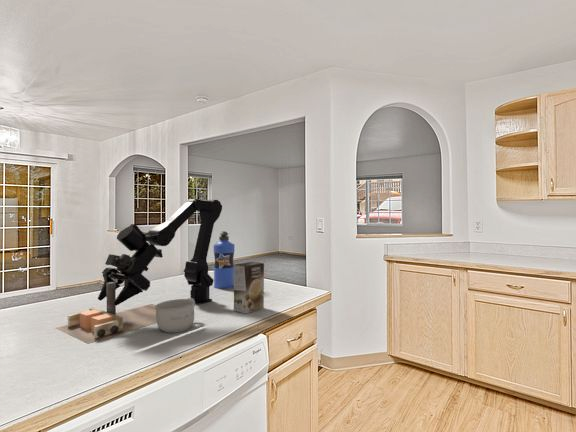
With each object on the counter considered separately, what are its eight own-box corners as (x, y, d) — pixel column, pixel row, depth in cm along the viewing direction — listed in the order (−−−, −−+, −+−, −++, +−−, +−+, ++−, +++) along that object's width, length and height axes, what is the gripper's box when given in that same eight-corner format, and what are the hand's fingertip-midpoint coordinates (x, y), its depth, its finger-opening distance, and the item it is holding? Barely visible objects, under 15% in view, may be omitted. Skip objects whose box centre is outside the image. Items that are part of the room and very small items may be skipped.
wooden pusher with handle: (100, 316, 109) (100, 278, 108) (131, 328, 98) (131, 286, 98) (67, 325, 101) (66, 284, 100) (97, 338, 90) (96, 292, 90)
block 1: (94, 322, 104) (93, 309, 104) (100, 325, 101) (100, 312, 101) (79, 326, 100) (79, 313, 100) (86, 329, 98) (86, 315, 98)
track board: (151, 305, 124) (151, 303, 124) (187, 315, 113) (187, 313, 113) (55, 330, 99) (55, 328, 99) (88, 346, 88) (88, 343, 88)
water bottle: (214, 284, 159) (214, 230, 159) (235, 283, 160) (234, 230, 160) (212, 289, 150) (212, 232, 150) (234, 288, 151) (233, 232, 151)
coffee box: (247, 314, 114) (246, 266, 114) (233, 310, 118) (233, 264, 118) (264, 307, 122) (264, 262, 121) (250, 304, 125) (250, 261, 125)
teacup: (172, 339, 92) (172, 310, 92) (147, 332, 98) (146, 304, 97) (210, 324, 104) (209, 298, 104) (185, 318, 109) (185, 294, 109)
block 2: (105, 327, 100) (105, 313, 100) (112, 330, 97) (112, 316, 97) (91, 331, 96) (91, 317, 96) (98, 334, 94) (98, 320, 94)
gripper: (107, 242, 110) (71, 282, 102) (140, 246, 100) (102, 291, 91) (131, 263, 117) (98, 302, 108) (164, 268, 106) (131, 313, 98)
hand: (106, 302), depth 101 cm, fingers open, 9 cm apart
